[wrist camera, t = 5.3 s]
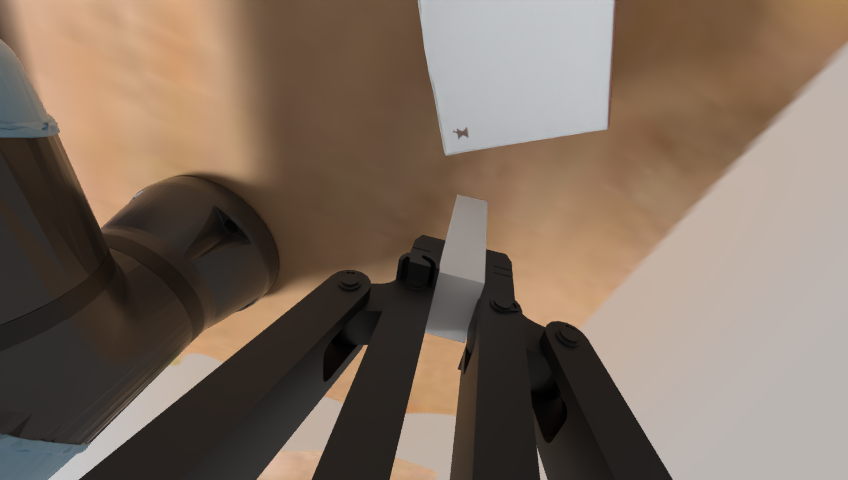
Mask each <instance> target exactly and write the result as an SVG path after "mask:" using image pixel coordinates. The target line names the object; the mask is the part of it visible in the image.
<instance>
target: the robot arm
mask: <svg viewBox="0 0 848 480" xmlns="http://www.w3.org/2000/svg"><path fill="white" fill-rule="evenodd" d="M59 132H60V130H59V128H58V126H57V123H56V122H55V119H54V118H53V117H52V116H50V115H49V114H47V112H46V110H45V108H44V106H43V104H42V103H41V101H40V99H39V97H38V95H37V93H36V91H35V89H34V87H33V85H32V83H31V81H30V79H29V78H28V76H27V74H26V72H25V70H24V68H23V66H22V64H21V62H20V60H19V59H18V58H17V56H16V55H15V53H14V52H13V51H12V50H11V49H10V47H9V46H7V45H6V44H5V43H4V42H3V41H2V40H1V39H0V480H48V479H49V478H50V477H51V476H52V475H54V474H55V473H56V472H57V471H58V470H59V469H60V468H61V467H63V466H64V465H65V464H66V463H67V462H68V461H69V460H70V459H71V458H73V457H74V456H75V455H76V454H78V453H81V452H83V451H84V450H86V448H87V447H88V446H89V445H90V443H91V442H92V441H93V440H94V439H95V438H96V437H97V436H98V435H99V434H100V433H101V432H102V431H103V430H104V429H105V428H106V427H107V426H108V425H109V424H110V423H111V422H112V421H113V420H114V419H115V418H116V417H117V416H118V415H119V414H120V413H121V412H122V411H123V410H124V409H125V408H126V407H127V406H128V405H129V404H130V403H131V402H132V401H133V400H134V399H135V398H136V397H137V396H138V395H139V394H140V393H141V392H142V391H143V390H144V389H145V388H146V387H147V386H148V385H149V384H150V383H151V382H152V381H153V380H154V379H155V378H156V377H157V376H158V375H159V374H160V373H161V372H162V371H163V370H164V369H165V368H166V367H167V366H168V365H169V364H170V363H171V362H172V361H173V360H174V359H175V358H176V357H177V356H178V355H179V354H180V353H181V352H182V351H183V350H184V349H185V348H186V347H187V346H188V345H189V344H190V343H191V342H192V341H193V340H194V339H195V338H196V337H197V336H198V335H199V334H200V333H202V332H203V331H204V330H205V329H207V328H209V327H211V326H213V325H215V324H216V323H218V322H220V321H222V320H223V319H225V318H227V317H228V316H230V315H231V314H233V313H235V312H238V311H241V310H244V309H246V308H248V307H250V306H252V305H253V304H255V303H256V302H257V301H258V300H259V299H261V297H262V296H263V295H264V294H265V293H266V292H267V291H268V290H269V289H270V288H271V287H272V285H273V284H274V282H275V280H276V278H277V275H278V270H279V259H278V253H277V249H276V246H275V243H274V240H273V238H272V236H271V234H270V232H269V230H268V229H267V227H266V226H265V224H264V223H263V221H262V220H261V219H260V217H259V216H258V215H257V214H256V213H255V212H254V211H253V210H252V208H251V207H249V206H248V205H247V204H246V203H245V202H244V201H243V200H242V199H240V198H239V197H238V196H236V195H235V194H233V193H232V192H230V191H229V190H227V189H225V188H224V187H222V186H220V185H218V184H216V183H213V182H211V181H208V180H205V179H201V178H197V177H190V176H177V177H172V178H168V179H165V180H163V181H160V182H158V183H155V184H153V185H150V186H148V187H146V188H144V189H143V190H141V191H140V192H138V193H137V194H136V195H135V196H134V197H133V199H132V200H131V201H130V202H129V203H128V204H127V205H126V206H125V207H124V208H123V209H121V210H120V211H119V212H118V213H117V214H116V215H115V216H114V217H113V218H111V219H110V220H109V221H108V222H107V223H106V224H105V225H104V226H103V227H102V228H101V229H100V227H99V225H98V223H97V220H96V218H95V216H94V214H93V211H92V209H91V207H90V205H89V203H88V200H87V198H86V196H85V194H84V191H83V189H82V187H81V185H80V183H79V180H78V178H77V176H76V174H75V172H74V169H73V167H72V165H71V163H70V160H69V158H68V156H67V154H66V152H65V149H64V147H63V145H62V143H61V140H60V138H59V136H58V133H59ZM487 206H488V201H484V200H480V199H475V198H471V197H467V196H462V195H458V194H457V197H456V201H455V205H454V209H453V213H452V217H451V221H450V225H449V229H448V233H447V237H446V240H441V239H437V238H433V237H429V236H425V235H422V236H420V237H419V238H417V239H416V240H415V242H414V245H413V247H412V250H411V252H410V253H406V254H404V255H402V256H401V257H400V259H399V263H398V270H397V276H396V280H395V281H392V282H389V283H383V284H371V281H370V279H369V278H368V276H366V275H365V274H363V273H362V272H358V271H354V270H345V271H340V272H337V273H335V274H334V275H332V276H331V277H329V278H328V279H327V280H326V281H324V282H323V283H322V284H321V285H320V286H318V287H317V288H316V289H315V290H313V291H312V292H311V293H310V294H308V295H307V296H306V297H305V298H303V299H302V300H301V301H300V302H298V303H297V304H296V305H295V306H293V307H292V308H291V309H290V310H289V311H287V312H286V313H285V314H284V315H282V316H281V317H280V318H279V319H277V320H276V321H275V322H274V323H272V324H271V325H270V326H269V327H267V328H266V329H265V330H264V331H262V332H261V333H260V334H259V335H258V336H256V337H255V338H254V339H253V340H251V341H250V342H249V343H248V344H246V345H245V346H244V347H243V348H241V349H240V350H239V351H238V352H236V353H235V354H234V355H233V356H231V357H230V358H229V359H228V360H227V361H225V362H224V363H223V364H222V365H221V366H219V367H218V368H217V369H215V370H214V371H213V372H212V373H210V374H209V375H208V376H207V377H205V378H204V379H203V380H202V381H201V382H199V383H198V384H197V385H196V386H194V387H193V388H192V389H191V390H189V391H188V392H187V393H186V394H185V395H183V396H182V397H181V398H179V399H178V400H177V401H176V402H175V403H173V404H172V405H171V406H170V407H168V408H167V409H166V410H165V411H164V412H162V413H161V414H160V415H158V416H157V417H156V418H155V419H153V420H152V421H151V422H150V423H148V424H147V425H146V426H145V427H144V428H142V429H141V430H140V431H138V432H137V433H136V434H135V435H134V436H132V437H131V438H130V439H129V440H127V441H126V442H125V443H124V444H122V445H121V446H120V447H119V448H117V450H115V451H114V452H112V454H110V455H109V456H108V457H106V458H105V459H104V460H103V461H101V462H100V463H99V464H98V465H97V466H95V467H94V468H93V469H92V470H90V471H89V472H88V473H86V474H85V475H84V476H83V477H82V478H80V479H79V480H256V479H257V478H258V477H259V475H260V474H261V473H262V472H263V471H264V469H265V468H266V467H267V466H268V464H269V463H270V462H271V461H272V459H273V458H274V457H275V456H276V454H277V453H278V452H279V451H280V449H281V448H282V447H283V446H284V444H285V443H286V442H287V441H288V439H289V438H290V437H291V436H292V434H293V433H294V432H295V431H296V430H297V428H298V427H299V426H300V425H301V423H302V422H303V421H304V420H305V418H306V417H307V416H308V415H309V414H310V412H311V411H312V410H313V409H314V407H315V406H316V405H317V404H318V402H319V401H320V400H321V399H322V397H323V396H324V395H325V394H326V392H327V391H328V390H329V389H330V388H331V386H332V385H333V384H334V383H335V381H336V380H337V379H338V378H339V376H340V375H341V374H342V373H343V371H344V370H345V369H346V368H347V366H348V365H349V364H350V363H351V361H352V360H353V359H354V358H355V357H356V355H357V354H358V353H359V352H360V350H361V349H362V347H363V345H368V347H367V349H366V352H365V354H364V356H363V359H362V361H361V364H360V366H359V368H358V371H357V373H356V375H355V378H354V380H353V383H352V385H351V387H350V390H349V392H348V394H347V397H346V399H345V402H344V404H343V406H342V409H341V411H340V414H339V416H338V418H337V421H336V423H335V425H334V428H333V430H332V433H331V435H330V437H329V440H328V442H327V445H326V447H325V449H324V452H323V454H322V456H321V459H320V461H319V463H318V466H317V468H316V471H315V473H314V475H313V478H312V480H390V475H391V471H392V467H393V463H394V459H395V455H396V450H397V446H398V442H399V438H400V434H401V429H402V425H403V421H404V417H405V413H406V409H407V404H408V400H409V396H410V392H411V388H412V383H413V379H414V375H415V371H416V367H417V363H418V358H419V354H420V350H421V346H422V342H423V337H424V333H428V334H432V335H436V336H440V337H444V338H448V339H451V340H455V341H459V342H463V343H465V340H466V337H467V343H466V347H465V350H464V353H463V356H462V358H461V361H460V364H459V367H458V369H459V370H461V377H460V386H459V396H458V406H457V415H456V426H455V435H454V444H453V454H452V464H451V473H450V480H540V475H539V474H540V473H539V466H538V465H539V464H538V455H537V448H538V451H539V454H540V458H541V461H542V463H543V467H544V470H545V473H546V476H547V479H548V480H672V478H671V476H670V474H669V473H668V471H667V469H666V468H665V466H664V464H663V463H662V461H661V459H660V458H659V456H658V454H657V453H656V451H655V450H654V448H653V446H652V445H651V443H650V441H649V440H648V438H647V436H646V435H645V433H644V431H643V430H642V428H641V426H640V425H639V423H638V421H637V420H636V418H635V417H634V415H633V413H632V411H631V410H630V408H629V406H628V405H627V403H626V401H625V400H624V398H623V397H622V395H621V393H620V392H619V390H618V388H617V387H616V385H615V383H614V382H613V380H612V378H611V377H610V375H609V373H608V372H607V370H606V368H605V367H604V365H603V364H602V362H601V360H600V358H599V357H598V355H597V354H596V352H595V350H594V349H593V347H592V345H591V344H590V342H589V340H588V339H587V338H586V336H585V335H584V334H583V333H582V332H581V331H580V330H578V329H577V328H576V327H574V326H572V325H570V324H568V323H564V322H560V321H555V322H551V323H549V324H547V326H546V328H545V327H543V326H541V325H539V324H537V323H535V322H533V321H531V320H530V319H528V318H527V317H525V316H524V315H523V314H522V309H521V307H520V305H519V304H518V303H517V301H516V300H515V296H514V285H513V273H512V262H511V261H510V259H509V258H508V256H507V255H506V254H503V253H499V252H495V251H491V250H487V249H486V233H487ZM536 445H537V446H536Z"/></svg>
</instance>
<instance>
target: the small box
mask: <svg viewBox="0 0 848 480" xmlns="http://www.w3.org/2000/svg"><path fill="white" fill-rule="evenodd" d="M616 4H617V0H418V7H419V13H420V20H421V26H422V34H423V42H424V49H425V55H426V60H427V65H428V72H429V77H430V81H431V84H432V89H433V93H434V99H435V104H436V110H437V115H438V121H439V127H440V132H441V137H442V143H443V149H444V153H445V155H446V156H449V155H454V154H459V153H465V152H470V151H476V150H482V149H488V148H494V147H500V146H506V145H511V144H517V143H523V142H529V141H536V140H542V139H548V138H555V137H561V136H568V135H574V134H580V133H586V132H593V131H601V130H607V129H608V128H609V123H610V107H611V90H612V73H613V54H614V38H615V20H616Z"/></svg>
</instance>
